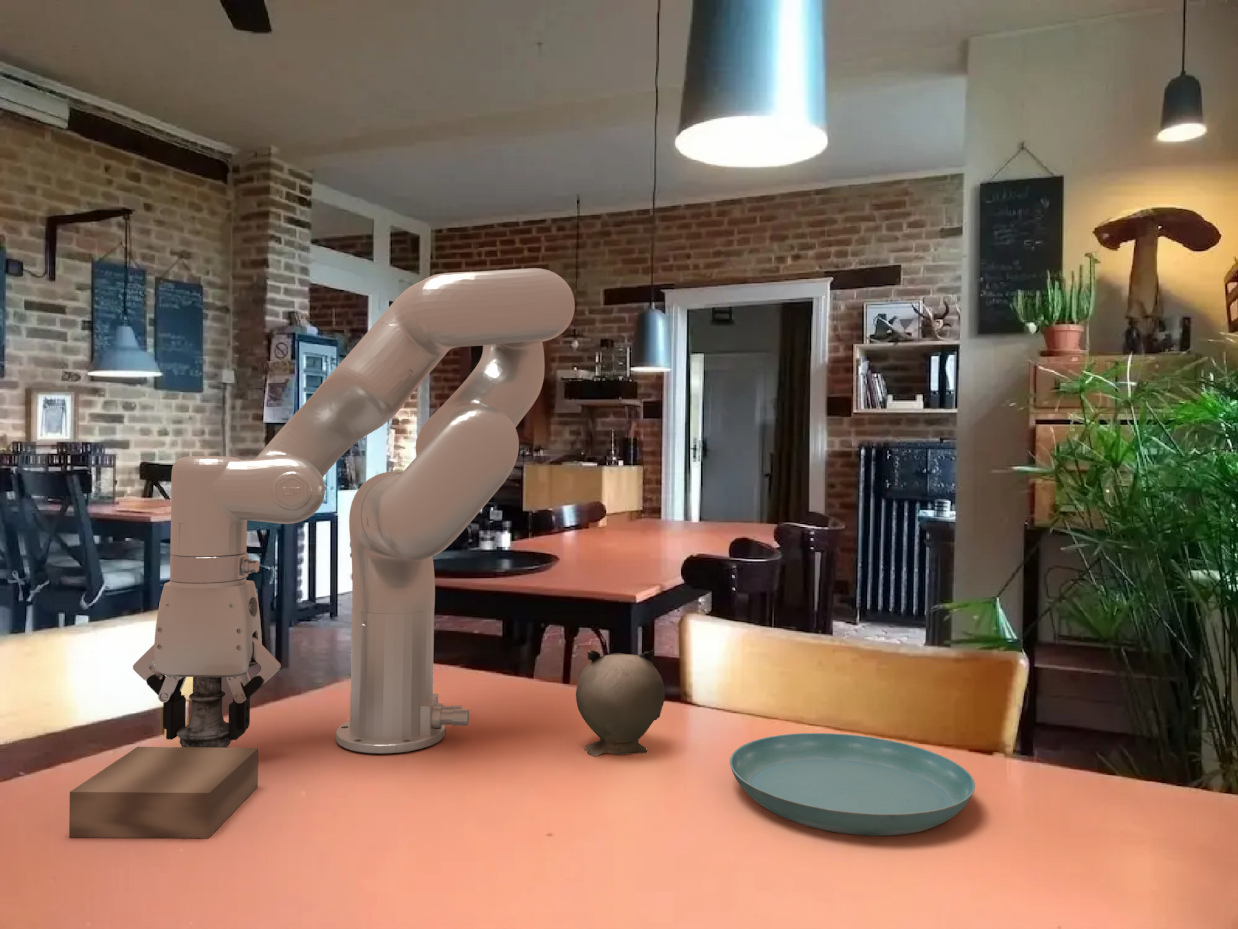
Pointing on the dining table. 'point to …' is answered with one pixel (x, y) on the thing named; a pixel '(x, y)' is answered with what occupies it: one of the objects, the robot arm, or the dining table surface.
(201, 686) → the salt shaker
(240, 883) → the dining table surface
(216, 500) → the robot arm
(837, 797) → the teal plate
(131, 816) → the brown flat wooden block
